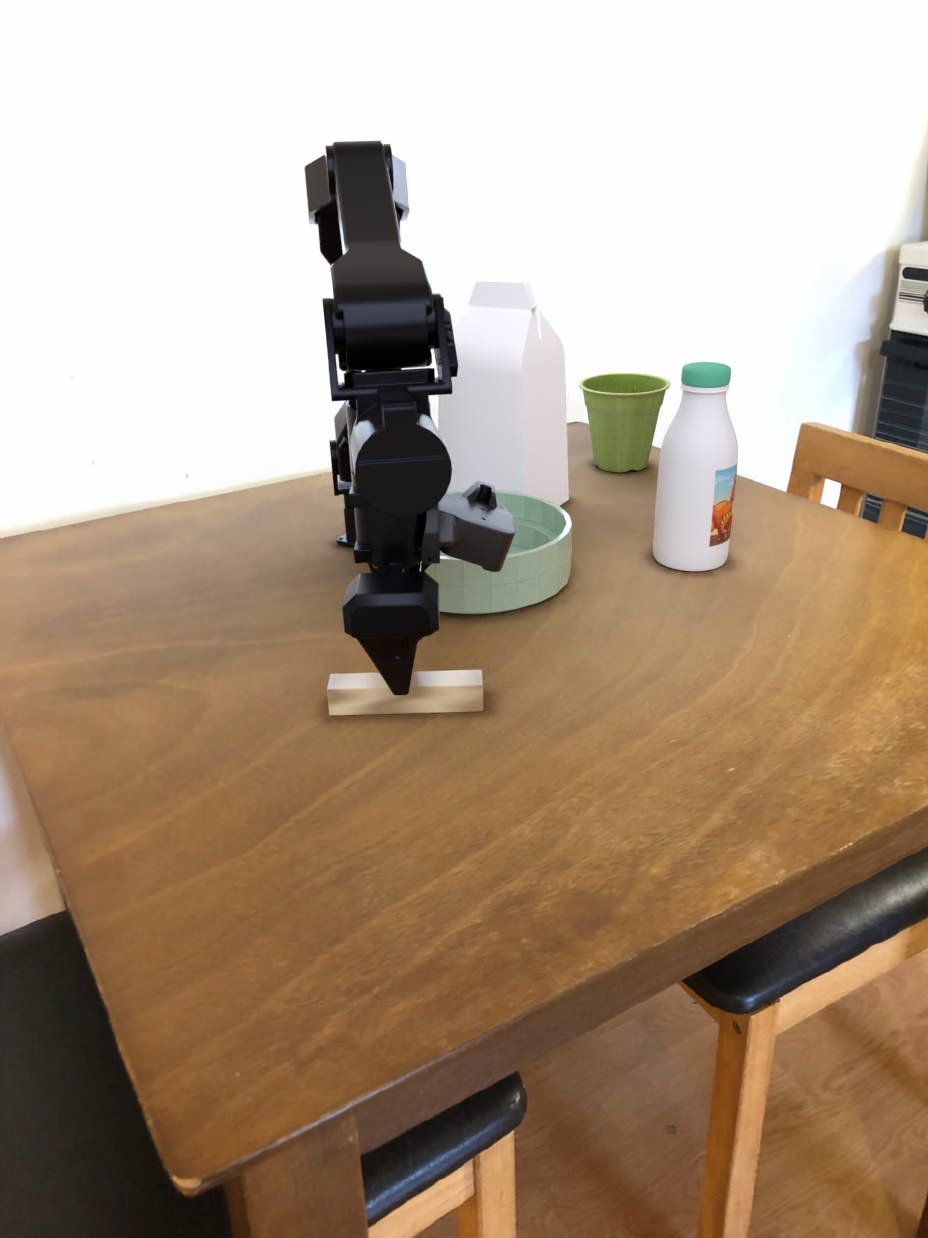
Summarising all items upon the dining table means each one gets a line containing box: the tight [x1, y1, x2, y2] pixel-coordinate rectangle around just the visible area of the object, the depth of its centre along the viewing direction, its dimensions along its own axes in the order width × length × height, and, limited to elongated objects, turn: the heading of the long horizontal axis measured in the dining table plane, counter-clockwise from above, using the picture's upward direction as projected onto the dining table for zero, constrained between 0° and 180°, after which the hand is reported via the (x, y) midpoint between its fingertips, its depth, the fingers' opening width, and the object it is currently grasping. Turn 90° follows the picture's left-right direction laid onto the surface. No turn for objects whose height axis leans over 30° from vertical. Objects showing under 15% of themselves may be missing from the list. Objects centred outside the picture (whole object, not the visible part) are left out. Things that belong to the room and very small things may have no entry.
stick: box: [326, 669, 484, 716], centre depth 73 cm, size 12×2×2 cm, turn 91°
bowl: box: [425, 490, 573, 615], centre depth 94 cm, size 19×19×6 cm
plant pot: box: [578, 372, 672, 474], centre depth 124 cm, size 12×12×11 cm
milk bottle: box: [652, 361, 739, 572], centre depth 93 cm, size 8×8×20 cm
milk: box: [437, 278, 570, 507], centre depth 108 cm, size 12×12×26 cm
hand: (404, 663), depth 72 cm, fingers open, 9 cm apart
